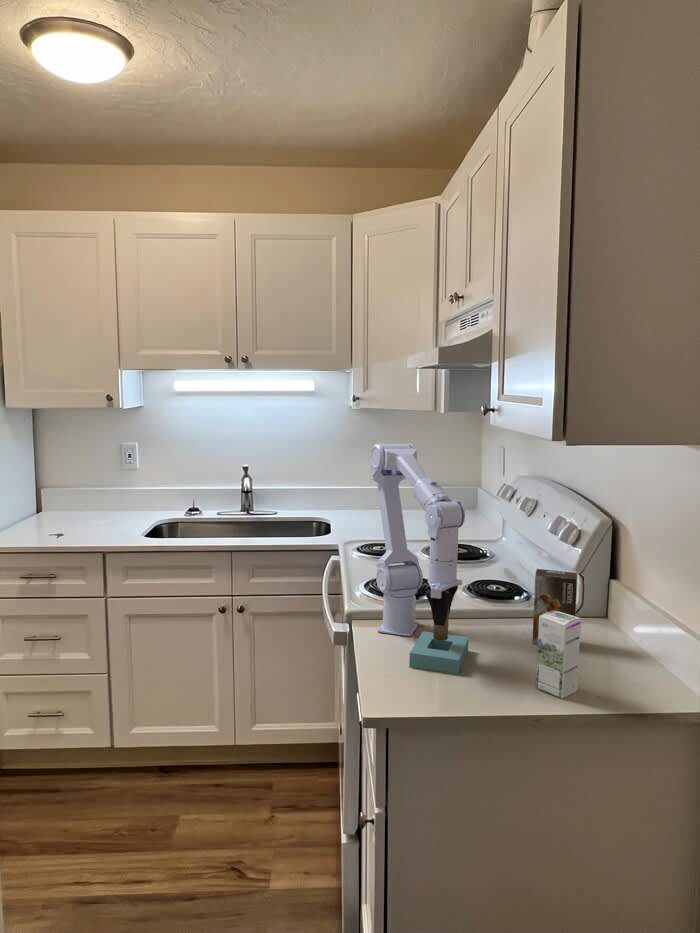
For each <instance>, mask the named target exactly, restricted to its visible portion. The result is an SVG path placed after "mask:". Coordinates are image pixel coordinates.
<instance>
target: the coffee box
mask: <svg viewBox="0 0 700 933" xmlns="http://www.w3.org/2000/svg"><path fill="white" fill-rule="evenodd" d="M577 590H578V573H577V572H573V571H572V572H571V571H570V572H569V571H561V570H551V569H542V568H537V569H536V571H535V575H534V594H533V595H534V598H533V615H532V616H533V619H532V620H533V621H532V623H533V624H532V641H531V642H532V645H537V646H538V631H539V616H541V615H543V614H545V613H547V612H550V611H559V612H562V613H565V614H569V615H572V616H575V617H577V615H576V614H577V596H578V595H577V593H578V591H577Z"/></svg>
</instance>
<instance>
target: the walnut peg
mask: <svg viewBox="0 0 700 933" xmlns="http://www.w3.org/2000/svg"><path fill="white" fill-rule="evenodd" d="M445 592H446V593H447V594H449V591H448V590H445ZM449 617H450V613H449V608H448V613H447V618H446V622H445V625H444V626H439V625H434V624H433V632H432V633H433V638H434V639H436V640H440V641H444V640H447V639H448V635H449Z"/></svg>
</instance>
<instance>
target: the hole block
mask: <svg viewBox="0 0 700 933" xmlns="http://www.w3.org/2000/svg"><path fill="white" fill-rule="evenodd" d="M433 633H434V632H430V631H424V630H423V631H422V633H421V634H420V636H419V637H418V639H417V641H416V642H415V644H414V645H413V646H412V649H411V650H410V652H409V663H408V664H409V666H408V668H413V669H421V670H426V671H433V672H438V673H446V674H451V675H458V676H459V674H460V671H461V669H462V666H463V665H464V661H465V659H466V657H467V654H468V651H469V639H470V638H469V637H467V636H459V635H454V634H453V635H452V634H448V639H447V640H444V641H440V640H436V639H434V638H433Z"/></svg>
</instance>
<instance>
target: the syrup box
mask: <svg viewBox="0 0 700 933" xmlns="http://www.w3.org/2000/svg"><path fill="white" fill-rule="evenodd" d="M581 624H582V619H581V617H579V616H576V617H575V616H572V615H569V614H565V613H562V612H559V611H550V612H547V613H545V614H543V615H541V616H539V631H538V645H537V655H536V656H537V657H536V678H535V689H536V690H539V691H542V692H544V693H547V694H548V695H552V696H554V697H556V698H559V699H561V700H562V699H565V698H566V697H569V696H570V695H572V694H574V693H576V692H577V691H578V681H579V680H578V678H579V676H578V675H579V662H580V661H579V660H580V658H579V657H580V644H581V642H580V641H581V628H582V626H581ZM568 695H569V696H568Z"/></svg>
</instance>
